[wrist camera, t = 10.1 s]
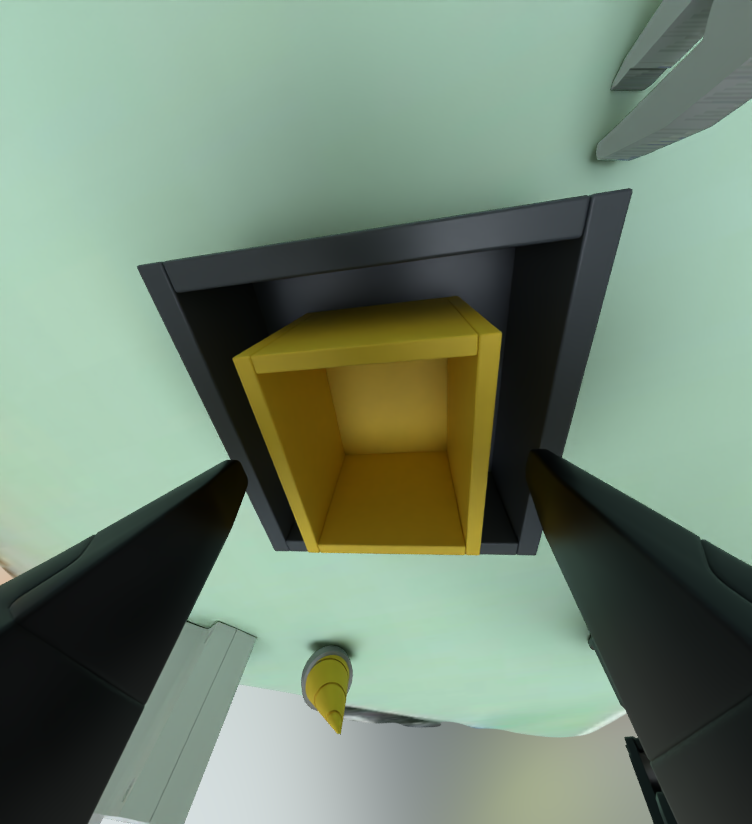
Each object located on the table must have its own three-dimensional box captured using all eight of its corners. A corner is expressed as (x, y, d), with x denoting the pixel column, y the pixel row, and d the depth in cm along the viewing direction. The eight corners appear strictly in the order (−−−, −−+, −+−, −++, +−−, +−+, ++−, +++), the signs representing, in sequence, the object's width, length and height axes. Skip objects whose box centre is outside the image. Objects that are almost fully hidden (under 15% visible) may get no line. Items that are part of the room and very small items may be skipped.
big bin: (536, 215, 10) (635, 186, 6) (501, 473, 16) (536, 556, 12) (235, 260, 12) (134, 265, 7) (306, 478, 18) (274, 551, 14)
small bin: (458, 295, 11) (503, 331, 6) (454, 451, 15) (480, 556, 10) (306, 313, 12) (230, 357, 7) (339, 456, 16) (307, 553, 11)
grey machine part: (217, 663, 37) (115, 884, 24) (111, 621, 33) (-77, 855, 20) (257, 637, 31) (152, 905, 19) (135, 585, 28) (-100, 871, 15)
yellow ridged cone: (297, 640, 32) (304, 713, 23) (342, 624, 34) (365, 686, 24) (301, 691, 31) (310, 789, 22) (347, 673, 33) (373, 755, 24)
